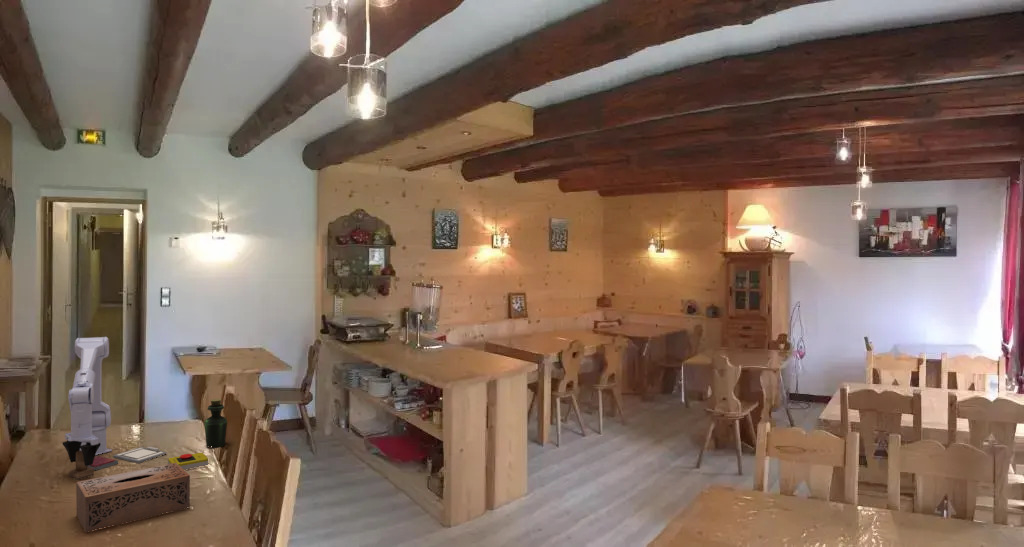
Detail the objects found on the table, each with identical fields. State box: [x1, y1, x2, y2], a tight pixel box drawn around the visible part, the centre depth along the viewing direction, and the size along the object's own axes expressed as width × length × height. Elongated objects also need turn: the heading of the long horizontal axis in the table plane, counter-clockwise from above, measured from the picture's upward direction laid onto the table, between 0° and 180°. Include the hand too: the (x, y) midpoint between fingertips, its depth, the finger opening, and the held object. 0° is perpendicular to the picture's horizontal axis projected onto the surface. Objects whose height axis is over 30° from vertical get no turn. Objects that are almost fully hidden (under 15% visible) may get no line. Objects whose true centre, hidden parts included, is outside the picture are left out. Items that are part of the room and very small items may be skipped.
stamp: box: [68, 450, 95, 480], centre depth 209 cm, size 5×5×8 cm
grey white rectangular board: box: [112, 446, 168, 464], centre depth 230 cm, size 14×11×2 cm
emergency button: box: [167, 452, 209, 470], centre depth 221 cm, size 9×4×15 cm
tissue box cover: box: [75, 463, 191, 533], centre depth 182 cm, size 26×14×10 cm, turn 133°
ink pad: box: [87, 455, 119, 471], centre depth 220 cm, size 10×8×2 cm
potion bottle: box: [204, 398, 228, 449], centre depth 243 cm, size 8×8×18 cm
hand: (81, 463), depth 209 cm, fingers open, 7 cm apart
